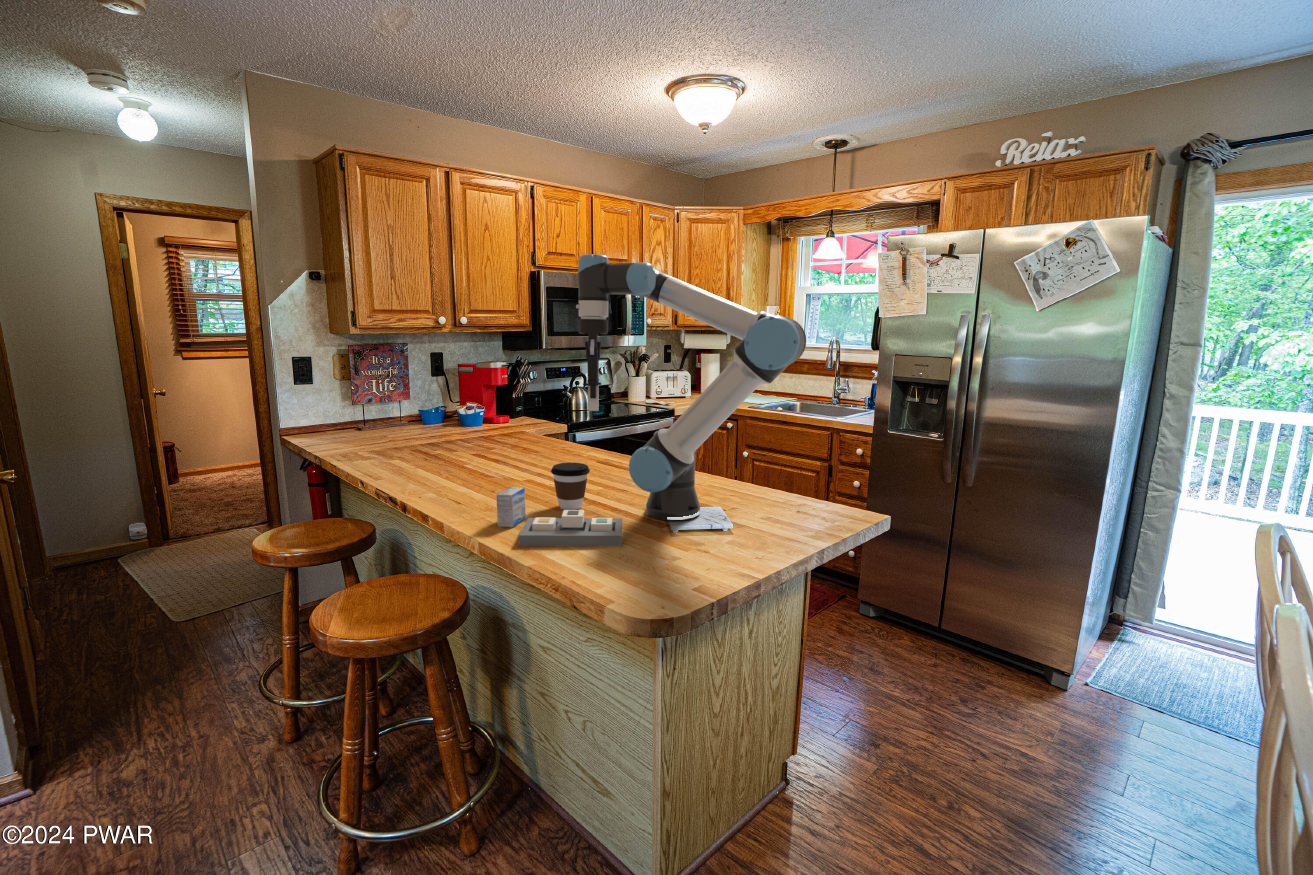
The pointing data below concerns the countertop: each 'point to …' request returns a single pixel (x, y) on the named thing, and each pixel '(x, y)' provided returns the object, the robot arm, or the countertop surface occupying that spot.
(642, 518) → the countertop surface
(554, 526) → the key
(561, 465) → the coffee cup
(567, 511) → the key
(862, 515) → the countertop surface
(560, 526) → the keypad board
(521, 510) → the medicine box
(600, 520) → the key
